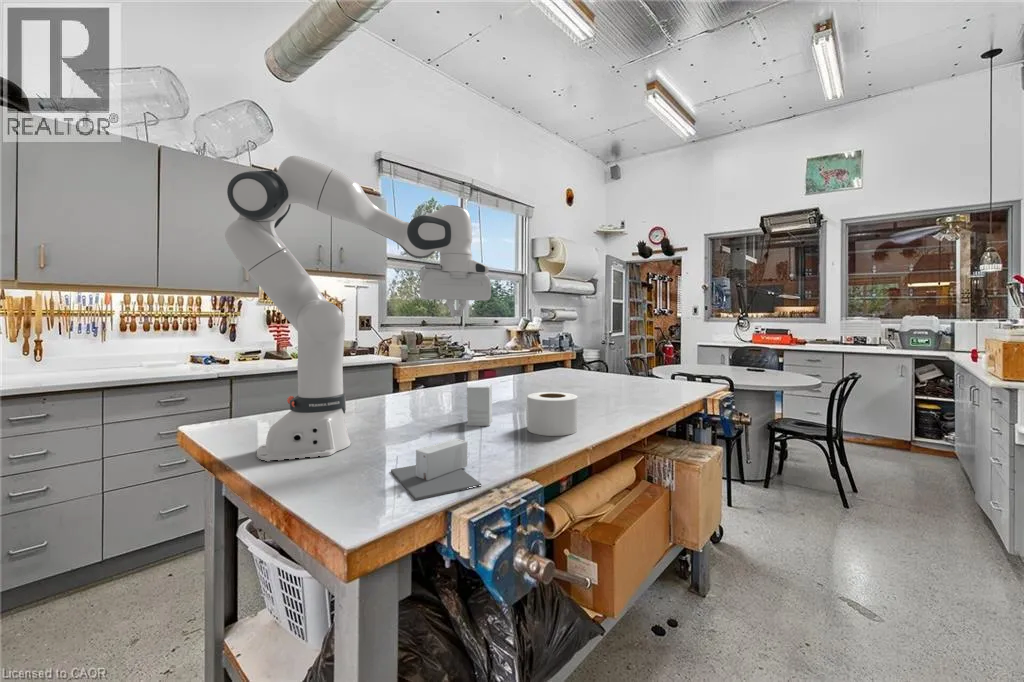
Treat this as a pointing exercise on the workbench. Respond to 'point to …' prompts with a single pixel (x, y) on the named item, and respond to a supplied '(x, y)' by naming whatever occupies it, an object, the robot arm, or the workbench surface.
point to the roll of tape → (552, 413)
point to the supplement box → (479, 404)
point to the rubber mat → (433, 482)
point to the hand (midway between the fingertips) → (456, 316)
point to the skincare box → (441, 459)
